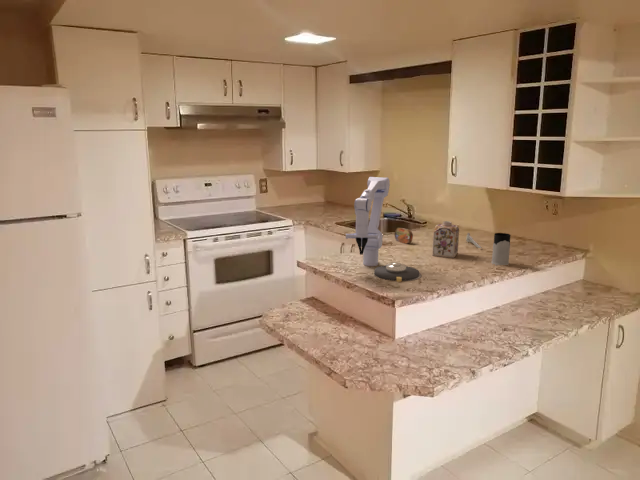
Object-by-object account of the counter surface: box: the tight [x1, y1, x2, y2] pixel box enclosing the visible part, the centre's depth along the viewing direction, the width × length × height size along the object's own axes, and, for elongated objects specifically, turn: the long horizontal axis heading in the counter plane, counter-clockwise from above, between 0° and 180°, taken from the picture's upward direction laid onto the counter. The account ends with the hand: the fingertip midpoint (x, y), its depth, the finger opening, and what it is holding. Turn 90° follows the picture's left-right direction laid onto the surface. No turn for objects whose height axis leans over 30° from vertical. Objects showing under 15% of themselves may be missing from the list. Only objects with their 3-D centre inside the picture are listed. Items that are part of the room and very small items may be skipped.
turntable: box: [373, 265, 420, 283], centre depth 221 cm, size 22×20×2 cm
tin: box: [394, 227, 414, 245], centre depth 295 cm, size 15×3×8 cm, turn 27°
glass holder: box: [490, 232, 512, 266], centre depth 248 cm, size 9×14×15 cm, turn 179°
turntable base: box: [375, 272, 422, 282], centre depth 223 cm, size 22×22×1 cm
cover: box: [385, 261, 407, 274], centre depth 222 cm, size 9×9×4 cm
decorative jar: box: [431, 220, 460, 259], centre depth 263 cm, size 12×12×18 cm
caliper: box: [465, 232, 483, 249], centre depth 287 cm, size 20×1×6 cm, turn 7°
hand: (361, 254), depth 225 cm, fingers closed
